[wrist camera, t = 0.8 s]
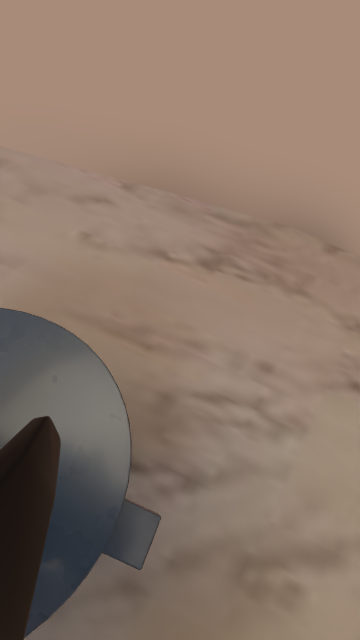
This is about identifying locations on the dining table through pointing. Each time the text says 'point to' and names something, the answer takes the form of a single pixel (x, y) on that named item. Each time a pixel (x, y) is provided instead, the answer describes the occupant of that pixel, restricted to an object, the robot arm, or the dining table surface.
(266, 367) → the dining table surface
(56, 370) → the pot lid
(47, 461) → the robot arm
